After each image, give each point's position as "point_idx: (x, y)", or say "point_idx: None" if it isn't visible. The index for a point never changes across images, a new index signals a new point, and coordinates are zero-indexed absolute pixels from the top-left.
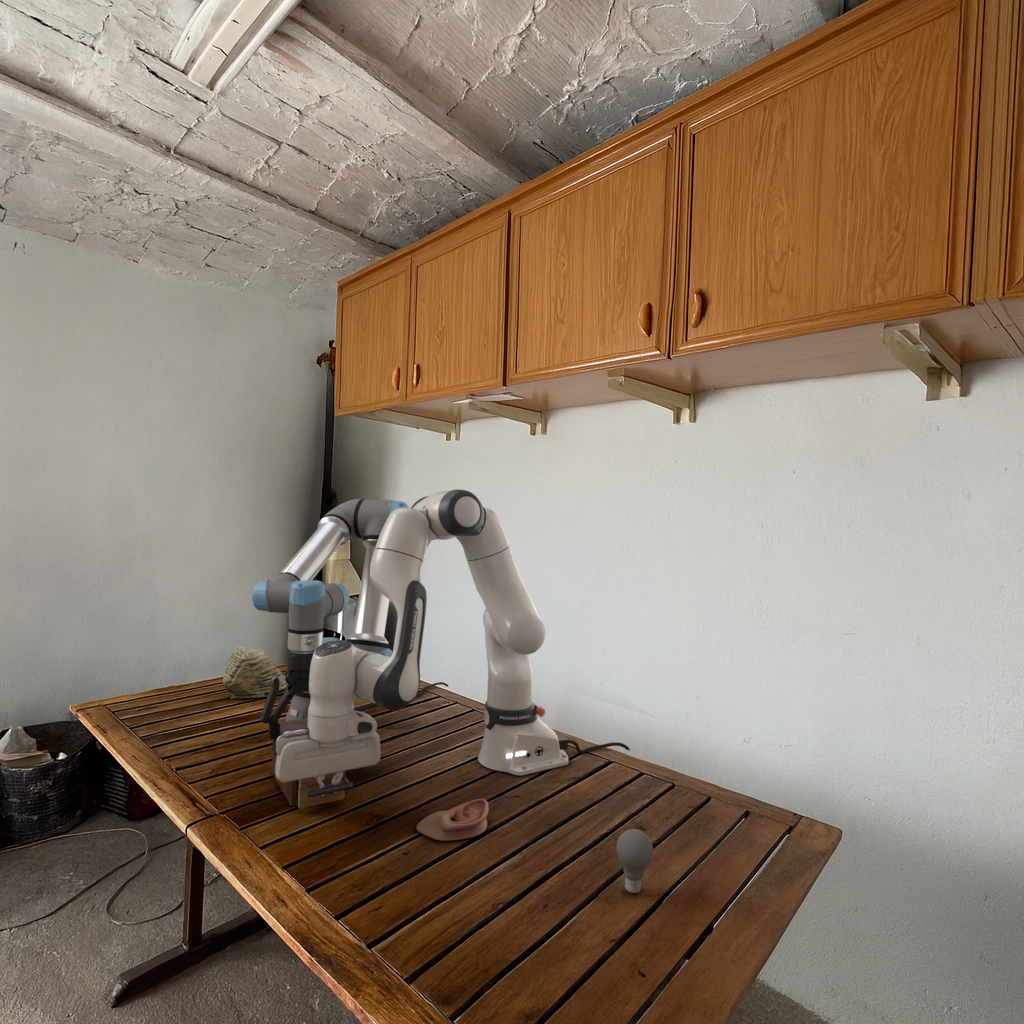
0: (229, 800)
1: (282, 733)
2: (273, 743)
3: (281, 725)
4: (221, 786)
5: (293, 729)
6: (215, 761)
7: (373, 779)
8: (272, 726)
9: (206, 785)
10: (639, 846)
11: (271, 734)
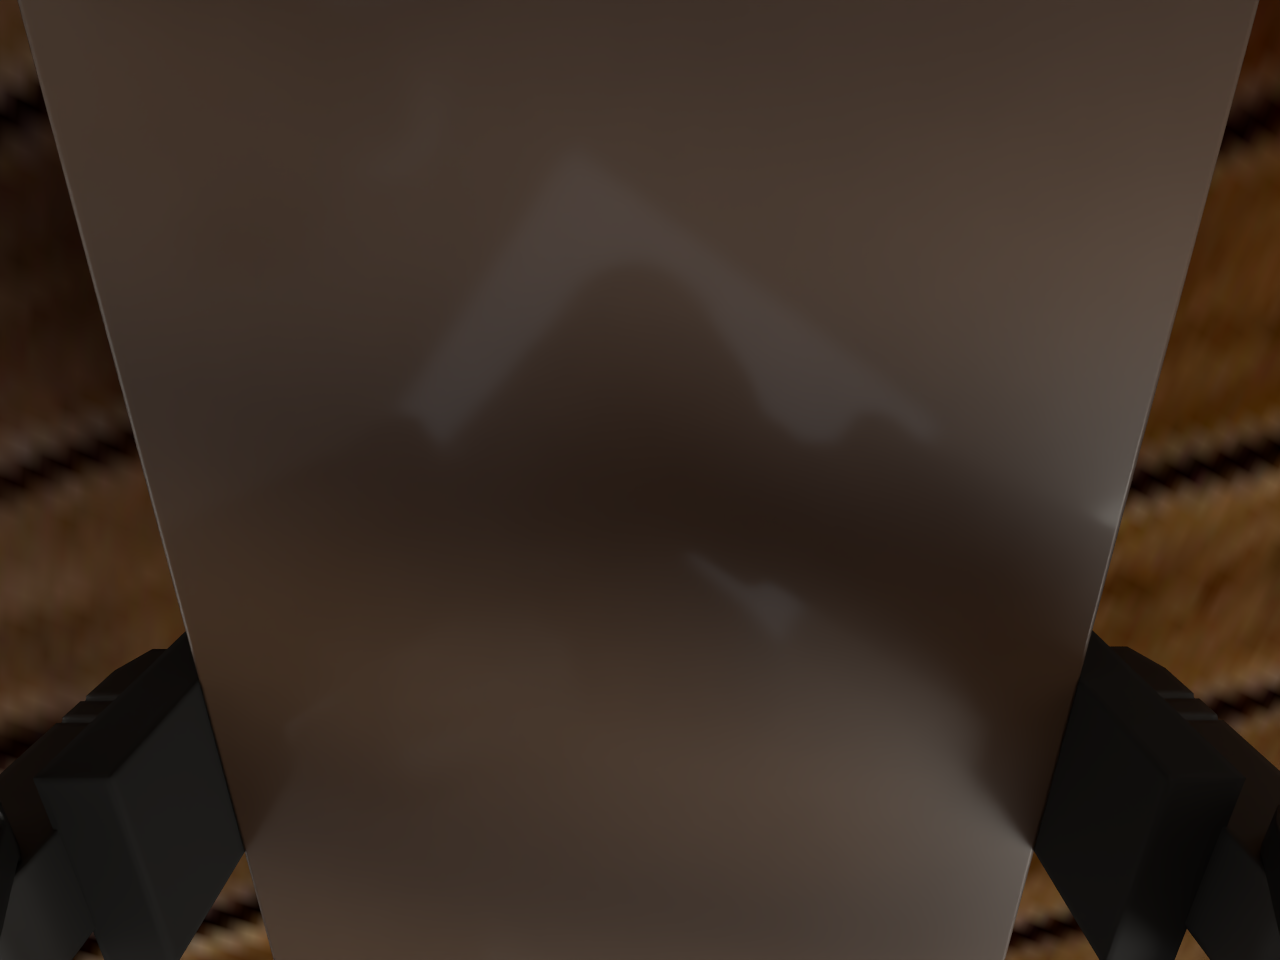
0: (1254, 289)
1: (1084, 577)
2: None
3: (936, 898)
4: (1190, 552)
5: (835, 674)
6: (1059, 904)
7: (30, 99)
8: (1267, 795)
9: (1262, 610)
10: None
11: (1165, 693)
